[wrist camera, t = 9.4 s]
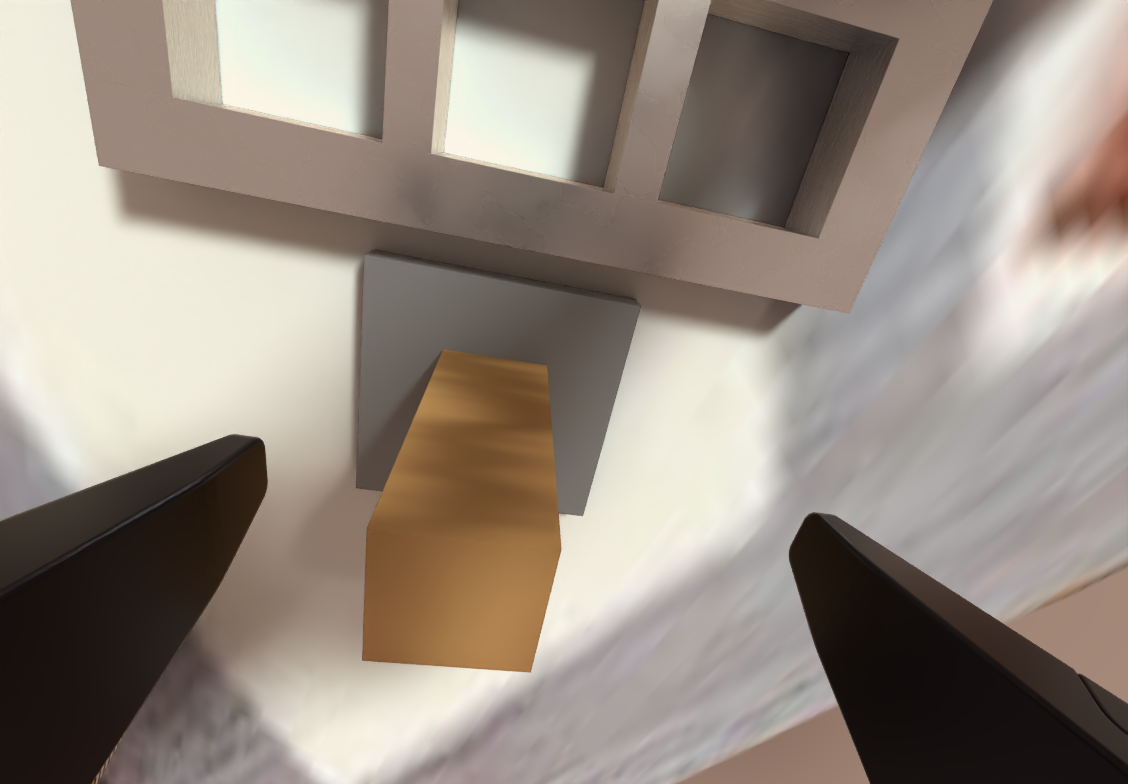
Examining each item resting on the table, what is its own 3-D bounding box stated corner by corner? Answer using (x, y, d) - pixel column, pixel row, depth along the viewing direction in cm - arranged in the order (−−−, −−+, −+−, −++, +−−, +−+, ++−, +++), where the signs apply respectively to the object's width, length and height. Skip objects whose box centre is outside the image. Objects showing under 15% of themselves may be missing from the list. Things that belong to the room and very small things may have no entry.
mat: (635, 299, 20) (641, 306, 19) (580, 502, 24) (582, 516, 23) (372, 249, 18) (364, 254, 17) (363, 474, 23) (356, 487, 22)
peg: (547, 365, 20) (561, 549, 11) (530, 451, 21) (530, 672, 12) (443, 349, 19) (366, 529, 10) (434, 439, 21) (362, 660, 12)
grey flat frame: (942, -11, 16) (1010, -37, 14) (813, 294, 20) (849, 313, 18) (101, -269, 13) (9, -360, 10) (156, 163, 17) (99, 165, 15)
